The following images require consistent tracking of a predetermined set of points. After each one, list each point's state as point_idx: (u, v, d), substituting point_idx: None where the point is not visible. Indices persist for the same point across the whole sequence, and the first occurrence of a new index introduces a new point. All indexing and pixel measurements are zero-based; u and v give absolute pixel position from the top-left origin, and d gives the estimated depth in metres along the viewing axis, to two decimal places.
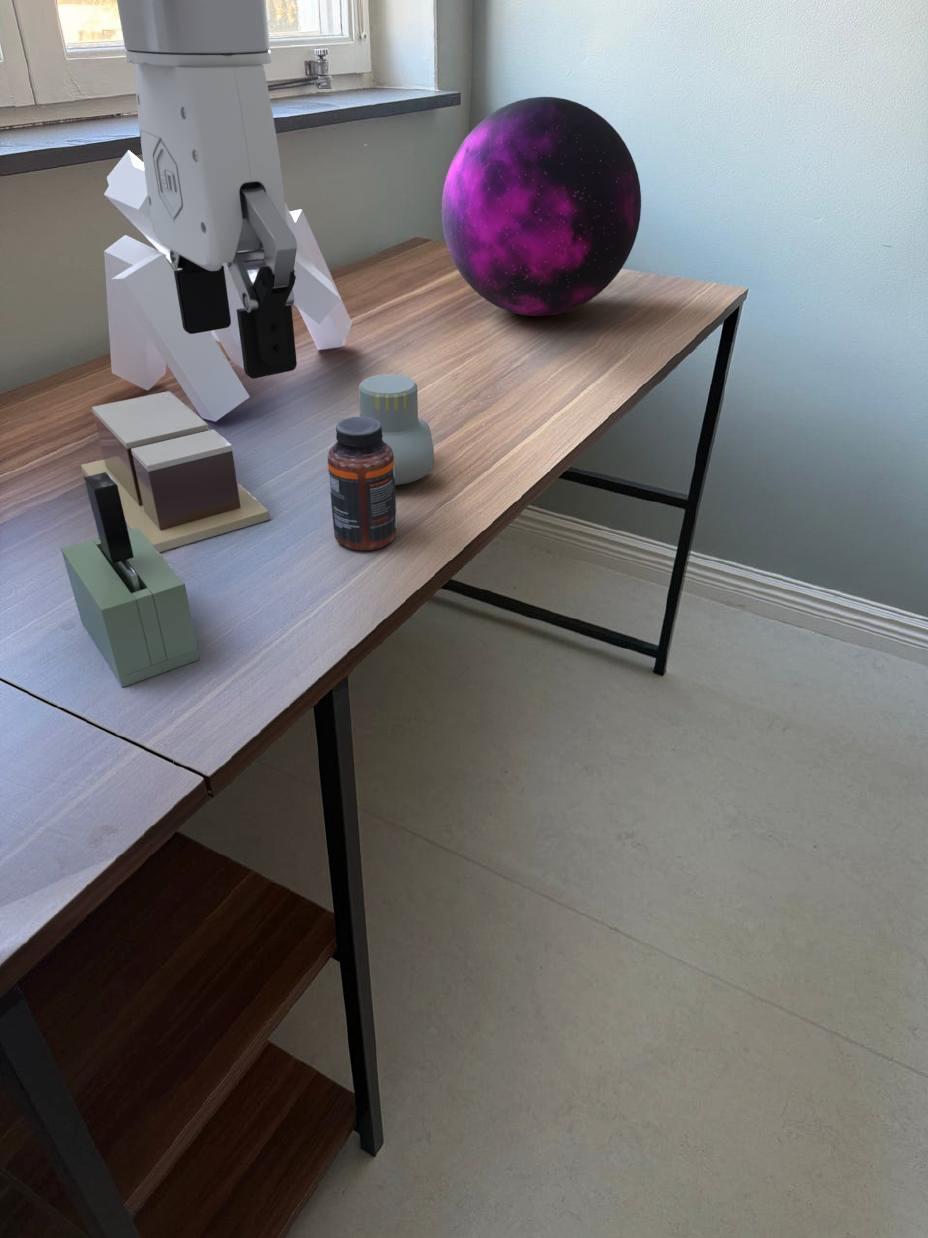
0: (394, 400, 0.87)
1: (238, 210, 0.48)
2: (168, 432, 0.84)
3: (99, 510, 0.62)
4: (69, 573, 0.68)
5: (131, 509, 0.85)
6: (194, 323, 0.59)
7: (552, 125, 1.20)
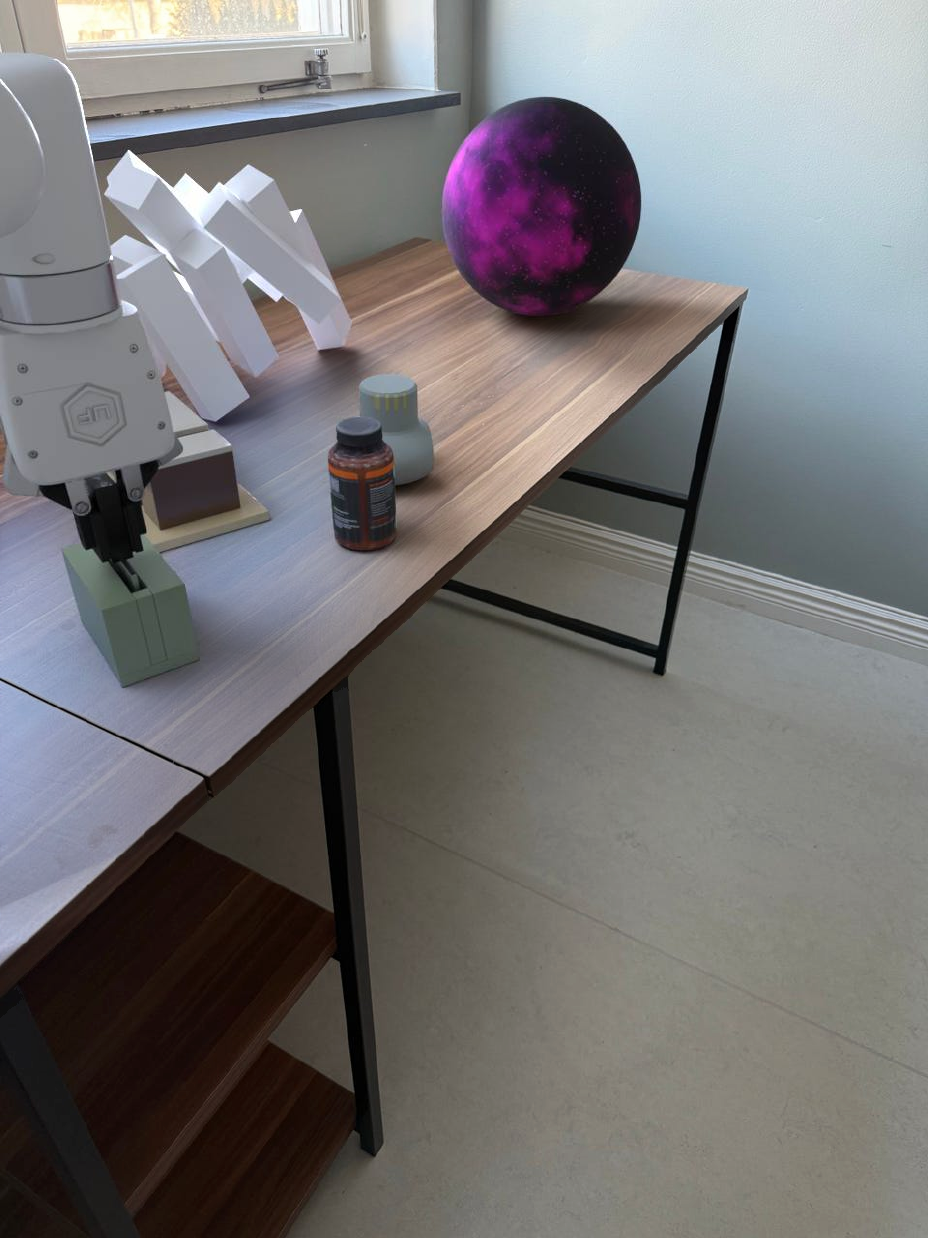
0: (394, 400, 0.87)
1: None
2: None
3: (99, 510, 0.62)
4: (69, 573, 0.68)
5: None
6: None
7: (552, 125, 1.20)
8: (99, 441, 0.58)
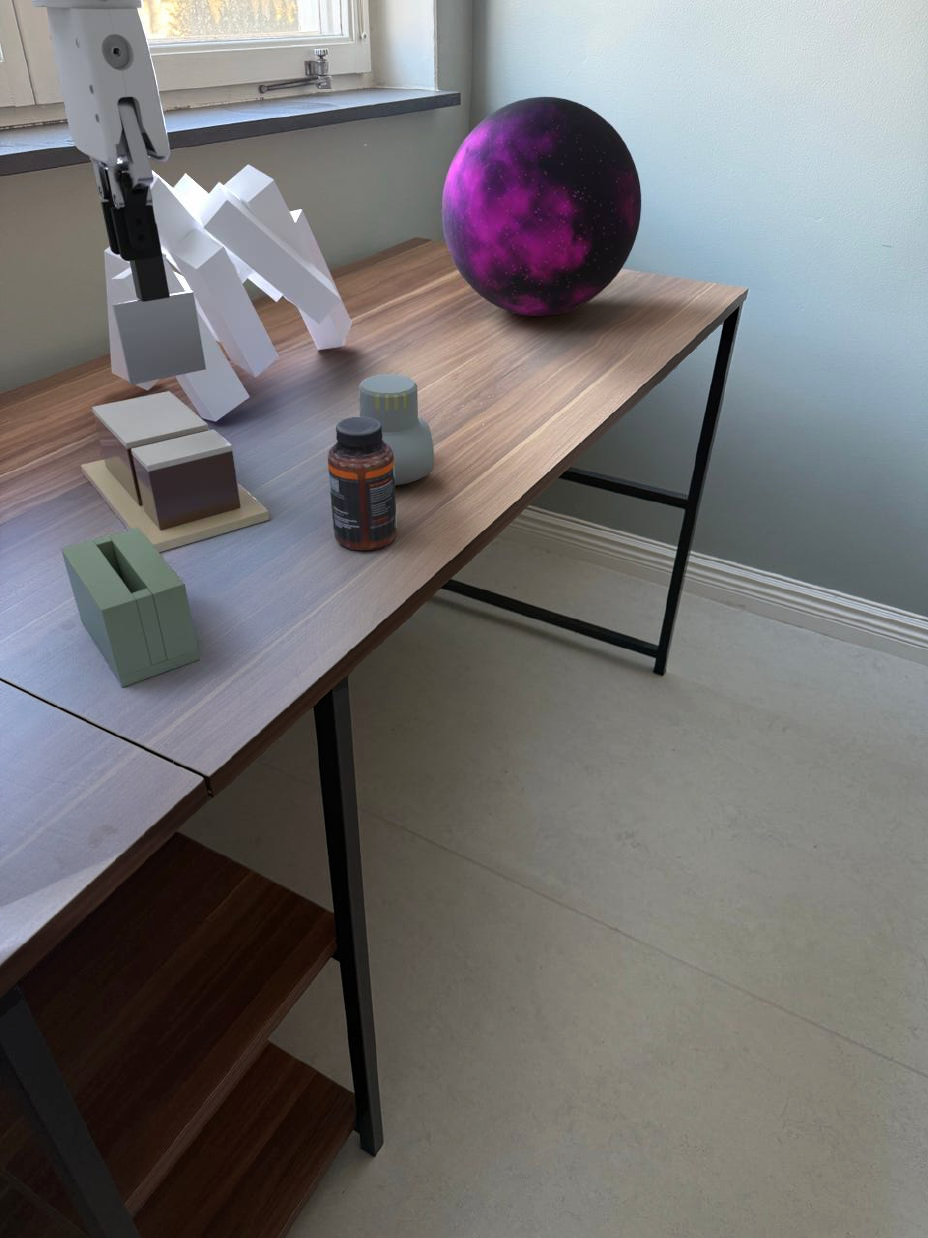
0: (394, 400, 0.87)
1: None
2: (168, 432, 0.84)
3: None
4: (69, 573, 0.68)
5: (131, 509, 0.85)
6: None
7: (552, 125, 1.20)
8: None
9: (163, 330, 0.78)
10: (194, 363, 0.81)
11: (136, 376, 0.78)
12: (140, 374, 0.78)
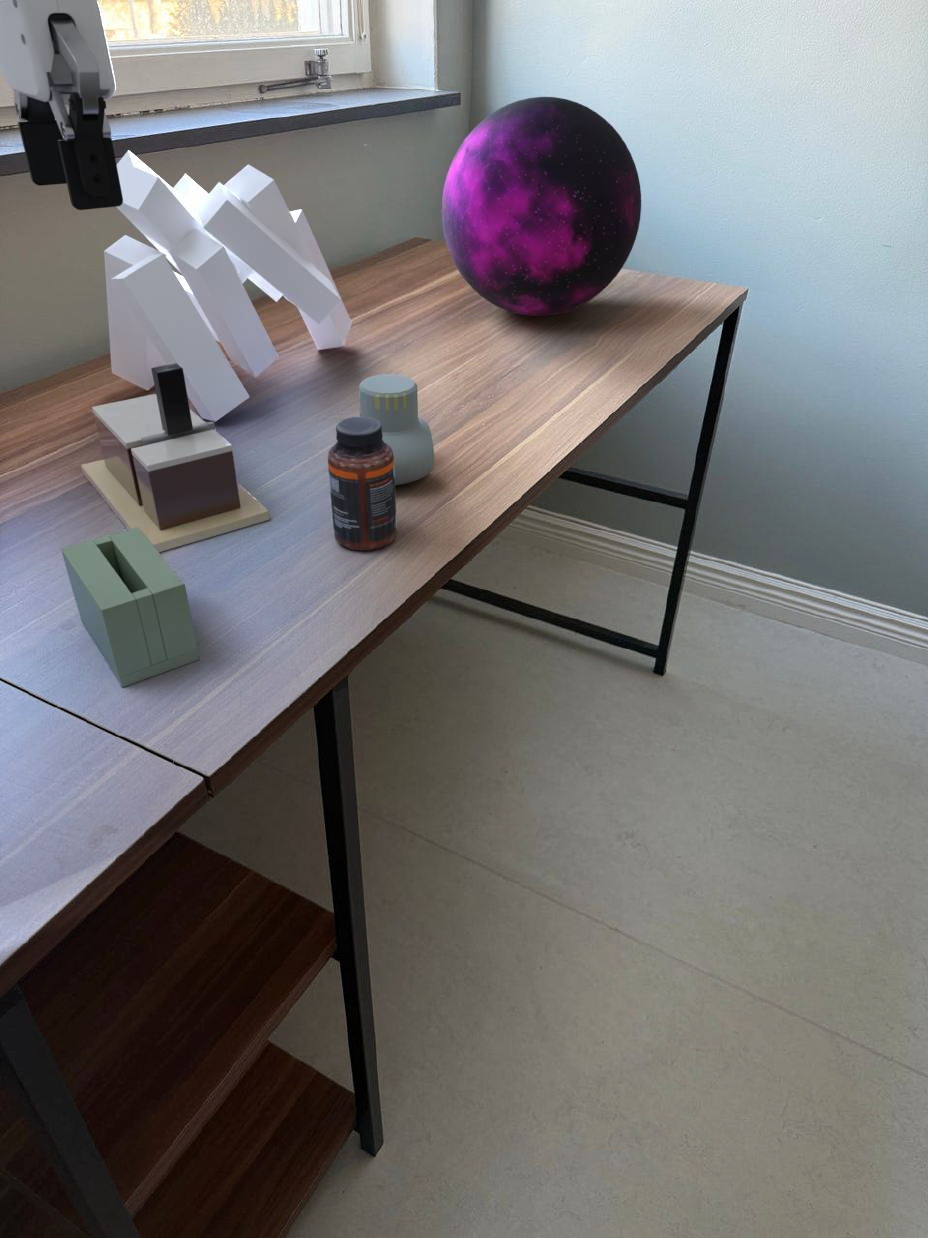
0: (394, 400, 0.87)
1: None
2: None
3: (185, 385, 0.81)
4: (69, 573, 0.68)
5: (131, 509, 0.85)
6: None
7: (552, 125, 1.20)
8: None
9: None
10: None
11: None
12: None
